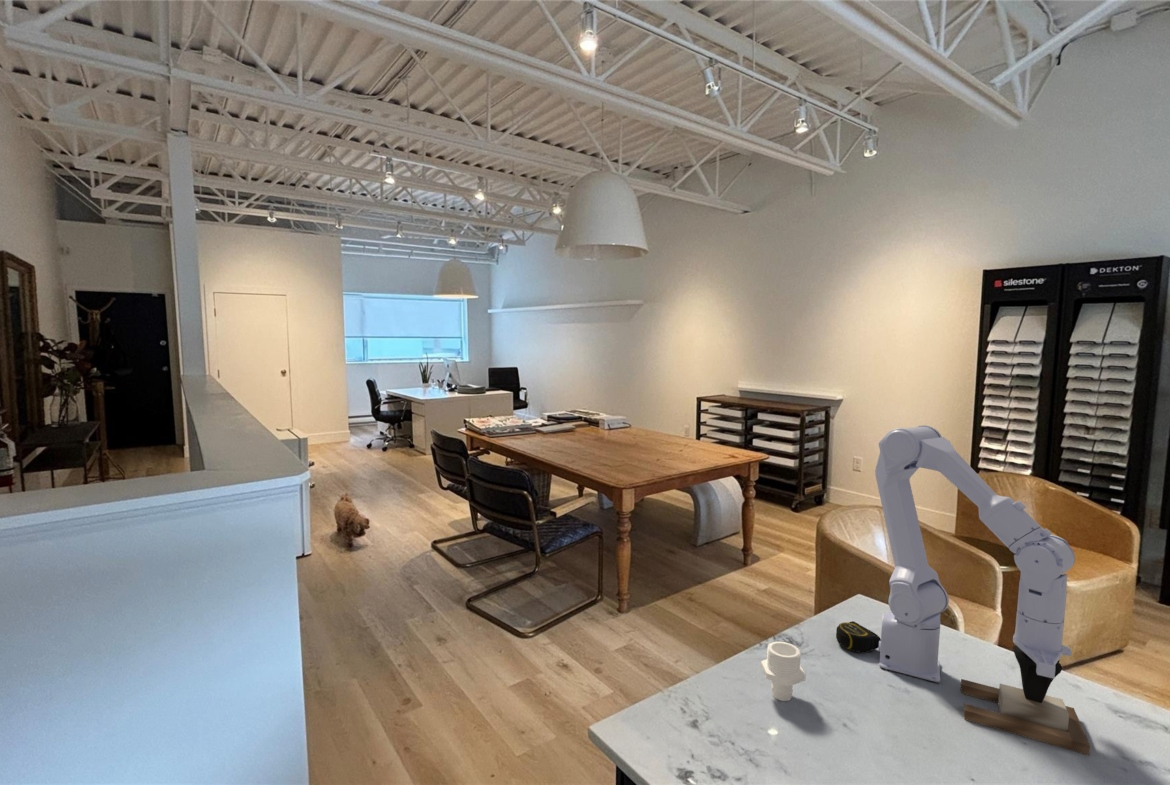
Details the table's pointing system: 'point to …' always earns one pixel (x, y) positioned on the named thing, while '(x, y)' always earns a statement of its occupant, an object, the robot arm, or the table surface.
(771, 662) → the pipe fitting
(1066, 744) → the brown frame section
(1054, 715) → the beige rectangular block
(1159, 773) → the table surface
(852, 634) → the tape measure
